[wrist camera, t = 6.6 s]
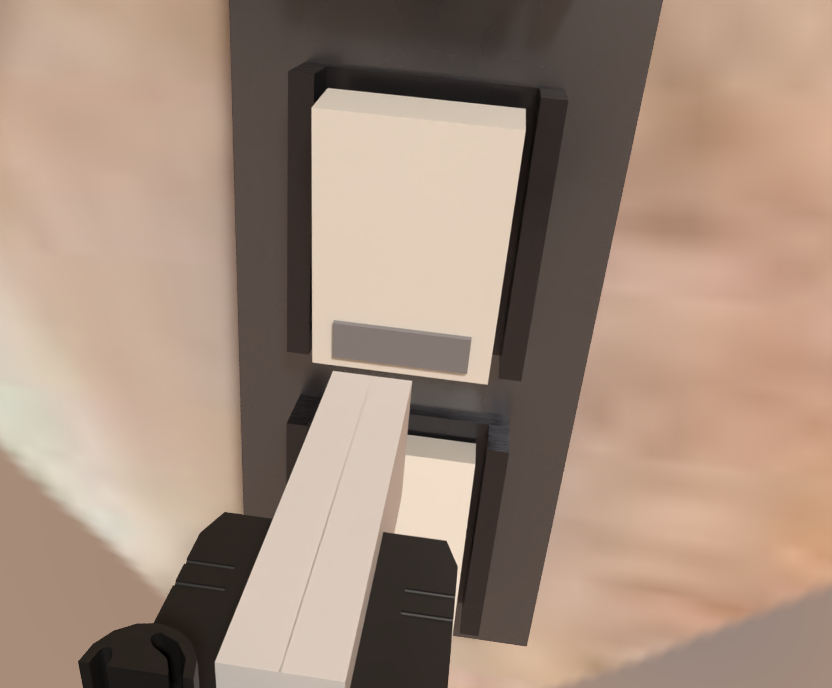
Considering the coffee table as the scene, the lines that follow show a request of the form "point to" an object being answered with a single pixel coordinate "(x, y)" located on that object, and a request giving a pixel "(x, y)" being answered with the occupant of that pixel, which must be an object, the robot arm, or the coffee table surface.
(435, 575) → the robot arm
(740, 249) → the coffee table surface
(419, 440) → the rocker
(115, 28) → the coffee table surface
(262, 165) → the rocker switch panel
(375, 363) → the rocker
